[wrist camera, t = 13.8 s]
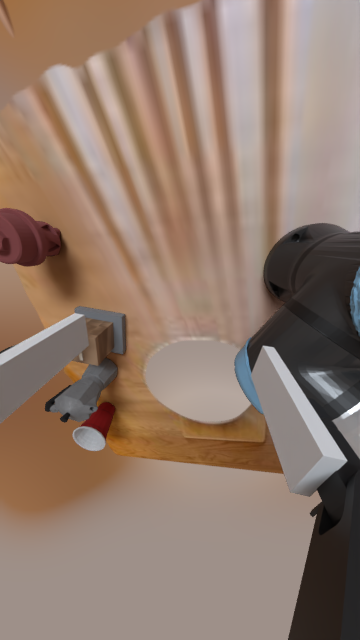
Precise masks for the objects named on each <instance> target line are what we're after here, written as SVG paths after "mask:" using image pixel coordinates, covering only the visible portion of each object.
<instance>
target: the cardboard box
mask: <svg viewBox="0 0 360 640" xmlns="http://www.w3.org/2000/svg"><path fill="white" fill-rule="evenodd" d="M85 321H86V328H87V335H88V341H89V346H88V347H86V348H85V349H84V350H83V351H82V352H81V353H80V354H79V355H77V356H76V357H75V358H74V359H73V360H72V361H76V362H81V363H86V364H91V365H96V366H99V365H100V363H101V362H102V361H103V360H104V359H105V358H106V356H107V355H108V354H109V353H110V352H111V351H112V349H113V348H114V331H113V322H108V321H102V320H96V319H91V318H85Z"/></svg>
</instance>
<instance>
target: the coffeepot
mask: <svg viewBox="0 0 360 640" xmlns="http://www.w3.org/2000/svg"><path fill="white" fill-rule="evenodd" d="M116 376H117V367H116V365H115V364H114V363H113V362H112V361H111V360H109V359H107V358H105V359H104V360H103V361H102V362H101V363H100V365H99V366H96V365H91V364H89V366H88V368H87V369H86V371H85V372H84V374H83V375H82V379H80V380H78V381H77V382H75V383H74V384H73V385H69V386H68V387H67V388H65V389H64V390H62V391H61V392H60V393H59V394H57V395H56V396H54V397H53V398H51V399H50V400H49V401H48V402H46V404H45V411H47V412H49V411H52V412H58V411H59V412H60V413H61V414H62V415H63V416H62V417H61V418H60V420H61V421H62V422H67V420H68V419H72V420H75V421H78V422H80V421H84V420H87V419H89V418H90V416H91V414H92V413H93V412H95V411H97V409H98V407H97V405H96V403H97V401H98V399H99V397H100V394H101V391H102V390H103V389H105V388H106V387H107V386H108V385H109V384H110V383H111V381H112V380H113V379H114V378H115V377H116ZM54 403H55V404H54Z"/></svg>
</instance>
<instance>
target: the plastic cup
mask: <svg viewBox="0 0 360 640" xmlns="http://www.w3.org/2000/svg"><path fill="white" fill-rule="evenodd" d="M114 412H115V407H114V406H113V405H112V404H111V403H108V402H103V403H102V404H101V405H99V407H98V409H97V411H95V412H93V413H92V414H91V416H90V418H89V419H87V420H86V421H85V422H84V423H83V424H82V425H81V426H80V427H78V428H77V429H76V430H74V432H73V438H74V440H75V441H76V443H77V444H78V445H80V446H81V447H82V448H85V449H87V450H91V451H98V450H101V449H103V448H104V446H105V444H106V437H107V433H108V430H109V427H110V424H111V421H112V419H113V415H114Z"/></svg>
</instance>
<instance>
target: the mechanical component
mask: <svg viewBox="0 0 360 640" xmlns="http://www.w3.org/2000/svg"><path fill="white" fill-rule="evenodd" d="M59 236H60V231H59V229H57V228H53V227H52V226H50V225H49V224H47V223H45V222H40V221H35V220H34V219H33V218H32V217H31V216H29V215H28V214H26V213H25V212H23V211H20V210H16V209H10V208H3V209H0V262H3V263H6V264H15V263H17V264H19V265H22V266H35V265H39V264H41V263H42V262H43V261H44V260H45V259H46V256H55V255H58V254H59V251H60V247H61V243H60V238H59Z"/></svg>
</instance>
